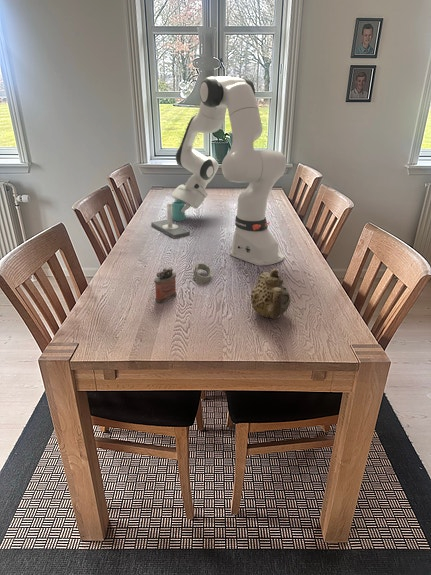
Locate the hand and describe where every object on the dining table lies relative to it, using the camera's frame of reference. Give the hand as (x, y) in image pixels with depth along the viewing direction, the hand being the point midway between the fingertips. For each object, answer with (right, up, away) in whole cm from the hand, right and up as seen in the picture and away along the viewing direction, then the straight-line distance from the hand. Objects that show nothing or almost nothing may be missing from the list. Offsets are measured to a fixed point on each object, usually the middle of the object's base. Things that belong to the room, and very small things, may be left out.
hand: (177, 209), depth 198 cm
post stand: (-2, -12, -12) cm, 17 cm away
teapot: (+34, -46, -76) cm, 96 cm away
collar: (0, -4, +2) cm, 5 cm away
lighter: (+3, -41, -69) cm, 80 cm away
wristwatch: (+14, -34, -55) cm, 66 cm away
